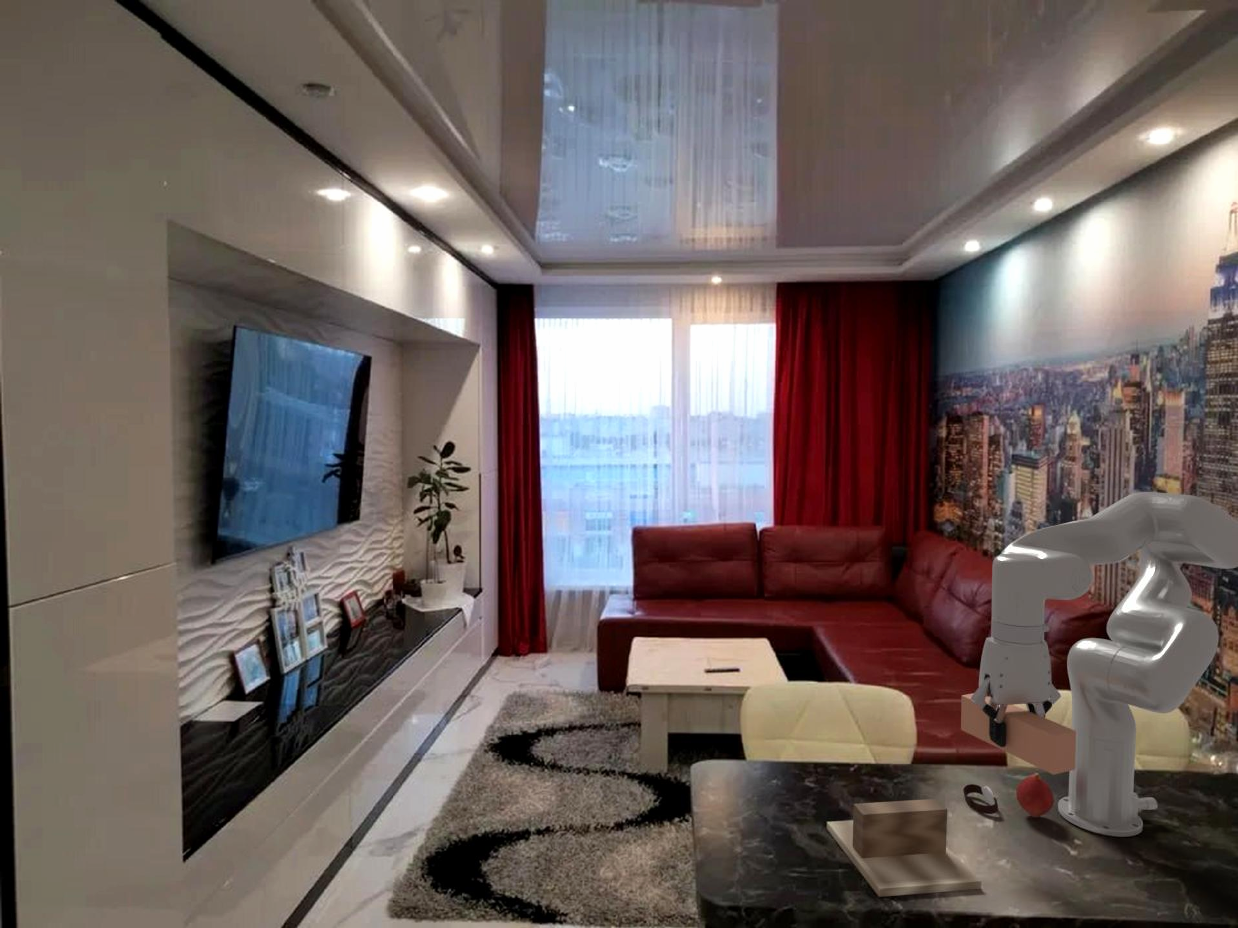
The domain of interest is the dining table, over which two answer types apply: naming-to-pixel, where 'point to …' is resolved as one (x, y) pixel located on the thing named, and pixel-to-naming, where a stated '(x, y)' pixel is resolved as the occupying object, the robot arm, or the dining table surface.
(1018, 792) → the onion
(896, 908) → the dining table surface
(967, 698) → the beam
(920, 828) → the stand
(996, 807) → the watch
